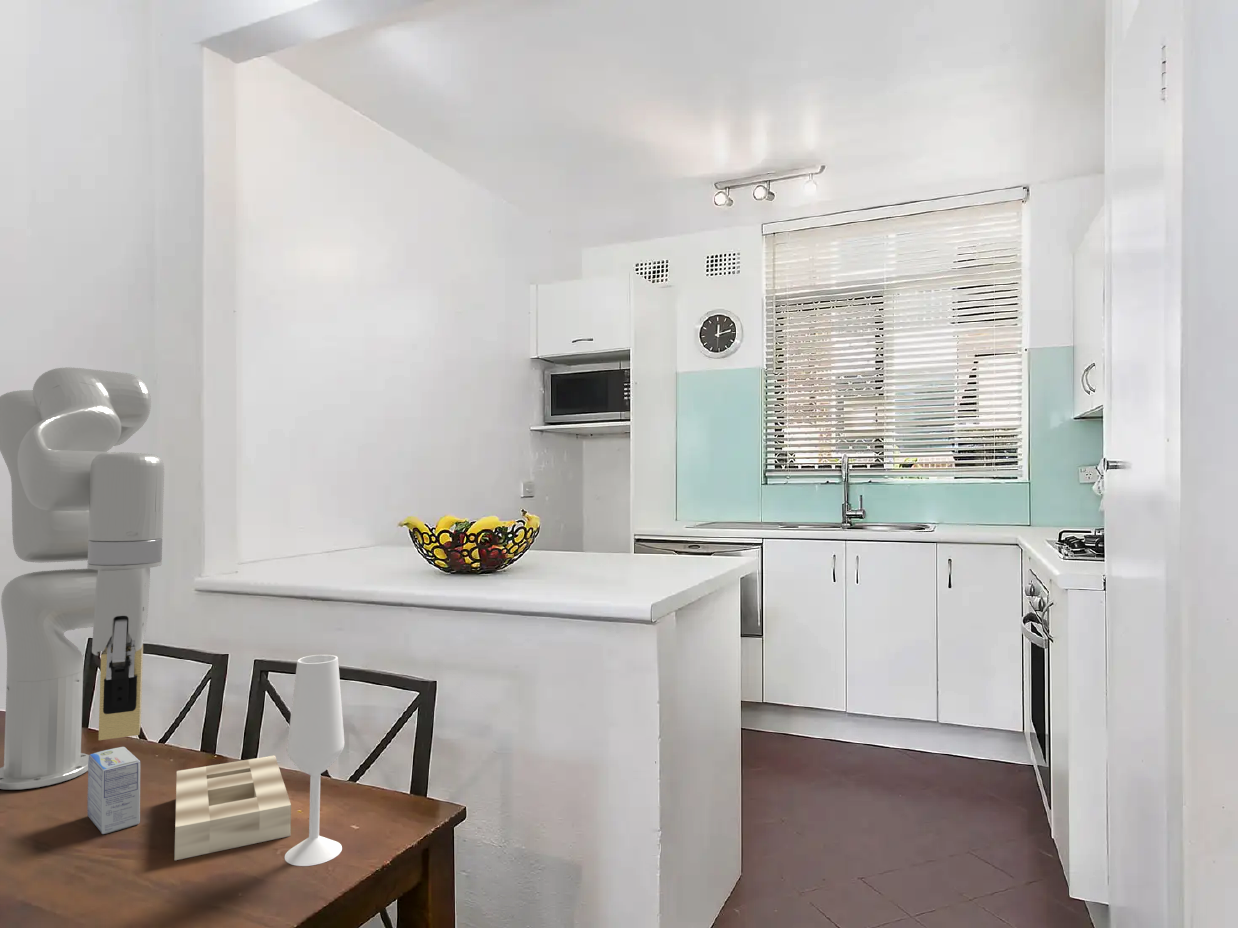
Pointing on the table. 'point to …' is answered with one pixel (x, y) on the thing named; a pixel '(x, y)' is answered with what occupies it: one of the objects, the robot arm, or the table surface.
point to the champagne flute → (315, 745)
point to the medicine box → (113, 789)
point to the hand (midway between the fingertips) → (121, 704)
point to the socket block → (230, 806)
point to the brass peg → (123, 721)
